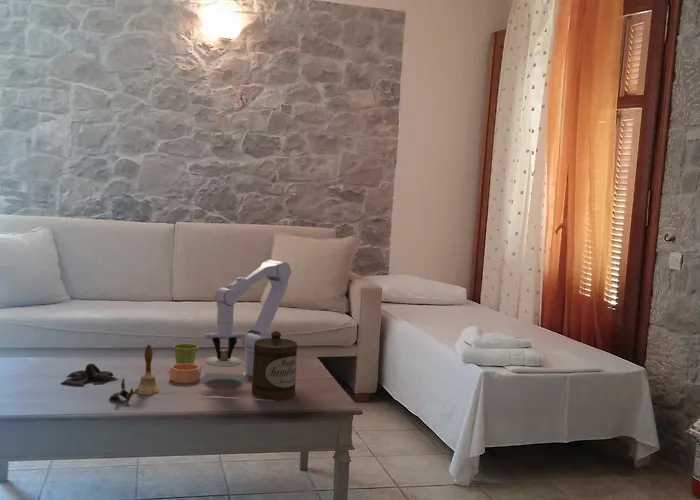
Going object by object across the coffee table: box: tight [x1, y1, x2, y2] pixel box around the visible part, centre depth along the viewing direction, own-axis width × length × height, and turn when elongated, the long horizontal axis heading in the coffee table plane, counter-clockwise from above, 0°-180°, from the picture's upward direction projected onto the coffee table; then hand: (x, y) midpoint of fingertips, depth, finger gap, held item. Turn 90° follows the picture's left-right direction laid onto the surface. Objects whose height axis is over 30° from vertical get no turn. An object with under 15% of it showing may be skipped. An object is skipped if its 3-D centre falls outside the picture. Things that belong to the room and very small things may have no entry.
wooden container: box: [251, 330, 298, 401], centre depth 256 cm, size 15×15×22 cm
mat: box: [197, 372, 247, 387], centre depth 271 cm, size 15×15×1 cm
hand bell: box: [134, 344, 160, 396], centre depth 252 cm, size 8×8×16 cm
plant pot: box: [172, 343, 199, 364], centre depth 285 cm, size 9×9×9 cm
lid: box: [205, 349, 242, 368], centre depth 270 cm, size 12×12×4 cm
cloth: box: [60, 363, 119, 388], centre depth 263 cm, size 22×19×6 cm
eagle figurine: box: [109, 377, 139, 404], centre depth 241 cm, size 8×7×9 cm
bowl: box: [169, 363, 202, 384], centre depth 268 cm, size 10×10×5 cm
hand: (223, 358), depth 270 cm, fingers closed on lid, 3 cm apart
